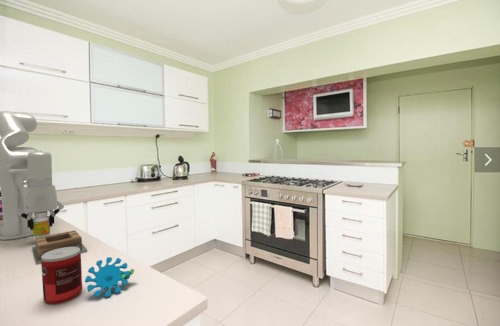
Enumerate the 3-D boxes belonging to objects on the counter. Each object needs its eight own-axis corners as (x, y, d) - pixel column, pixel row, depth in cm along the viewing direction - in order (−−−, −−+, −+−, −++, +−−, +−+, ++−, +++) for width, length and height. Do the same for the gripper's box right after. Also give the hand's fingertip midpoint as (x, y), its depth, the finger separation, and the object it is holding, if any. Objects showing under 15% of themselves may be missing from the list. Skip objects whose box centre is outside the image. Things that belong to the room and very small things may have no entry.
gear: (83, 299, 57) (87, 257, 63) (81, 308, 60) (86, 267, 67) (135, 290, 63) (134, 253, 69) (131, 299, 66) (130, 263, 72)
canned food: (57, 287, 65) (55, 247, 65) (89, 286, 66) (87, 245, 65) (34, 306, 57) (31, 260, 57) (70, 303, 58) (68, 258, 58)
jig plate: (32, 249, 92) (31, 242, 92) (77, 239, 102) (76, 232, 101) (36, 264, 79) (35, 256, 79) (87, 251, 89) (86, 244, 89)
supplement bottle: (30, 238, 96) (29, 214, 95) (35, 234, 101) (34, 210, 100) (48, 236, 98) (47, 213, 98) (51, 232, 103) (51, 209, 102)
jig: (36, 248, 90) (35, 238, 90) (75, 240, 99) (75, 230, 99) (39, 258, 82) (38, 246, 82) (82, 248, 90) (81, 237, 90)
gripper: (10, 186, 89) (11, 234, 91) (68, 182, 101) (69, 225, 103) (9, 183, 94) (11, 229, 96) (65, 180, 107) (65, 221, 108)
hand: (41, 226), depth 99 cm, fingers closed on supplement bottle, 5 cm apart
